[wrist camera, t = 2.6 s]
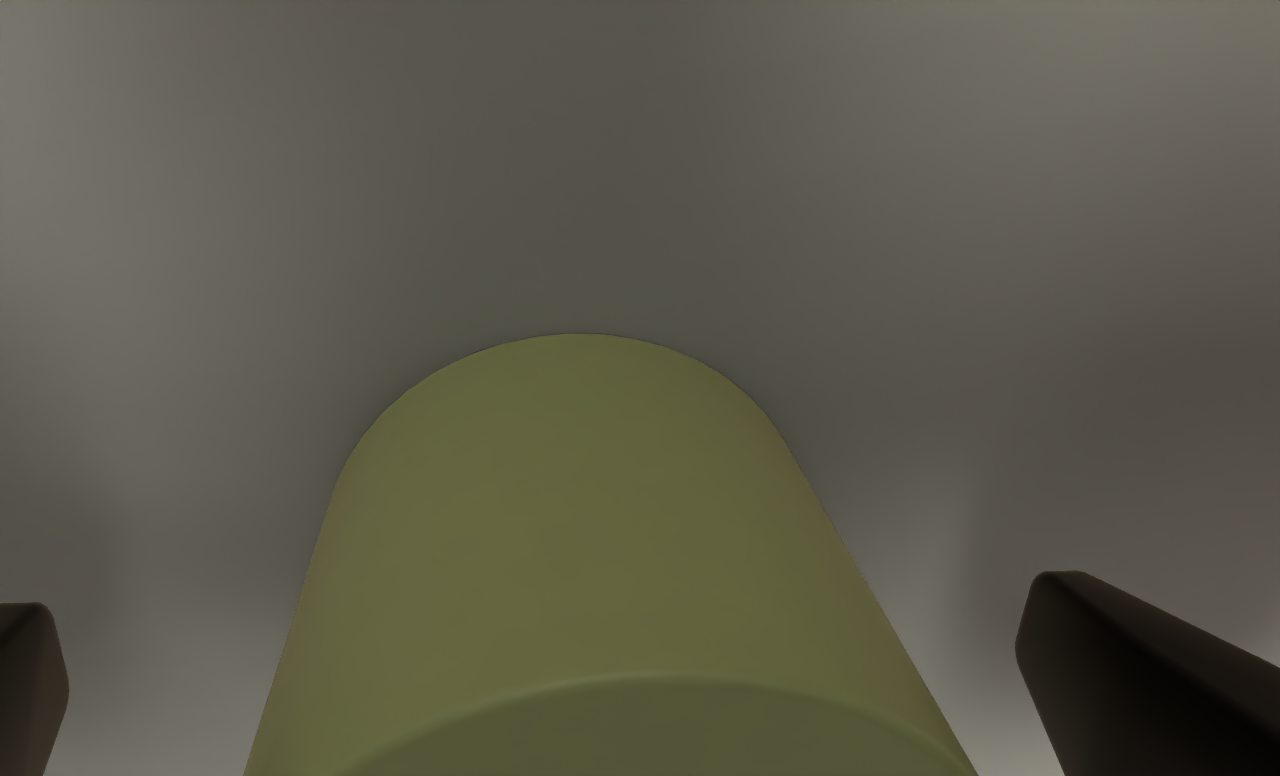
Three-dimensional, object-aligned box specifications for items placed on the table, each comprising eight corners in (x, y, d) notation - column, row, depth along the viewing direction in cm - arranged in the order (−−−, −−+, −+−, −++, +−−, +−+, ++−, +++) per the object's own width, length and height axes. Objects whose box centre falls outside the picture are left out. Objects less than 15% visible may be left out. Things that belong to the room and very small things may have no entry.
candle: (268, 676, 10) (96, 1204, 6) (414, 255, 8) (325, 561, 4) (688, 769, 11) (798, 1249, 7) (886, 423, 9) (1182, 785, 5)
